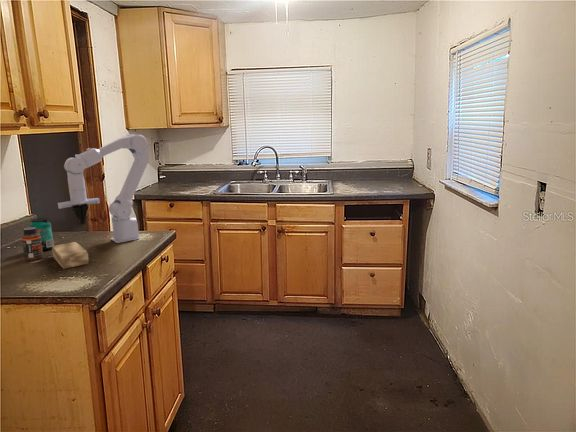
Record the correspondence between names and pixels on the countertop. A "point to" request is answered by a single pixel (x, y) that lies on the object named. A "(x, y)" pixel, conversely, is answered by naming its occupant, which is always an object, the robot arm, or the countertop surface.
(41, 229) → the beverage can
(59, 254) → the tan rectangular block
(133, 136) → the robot arm
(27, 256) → the supplement bottle
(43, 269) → the countertop surface
